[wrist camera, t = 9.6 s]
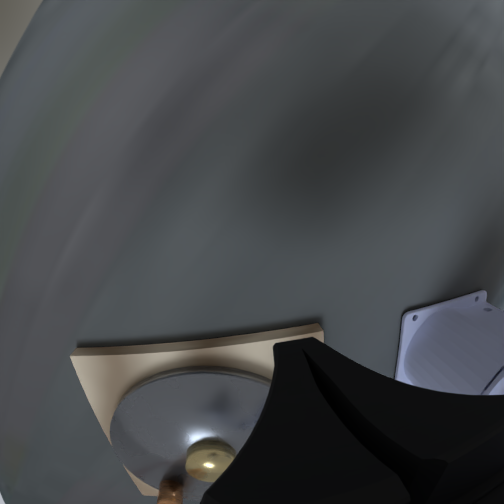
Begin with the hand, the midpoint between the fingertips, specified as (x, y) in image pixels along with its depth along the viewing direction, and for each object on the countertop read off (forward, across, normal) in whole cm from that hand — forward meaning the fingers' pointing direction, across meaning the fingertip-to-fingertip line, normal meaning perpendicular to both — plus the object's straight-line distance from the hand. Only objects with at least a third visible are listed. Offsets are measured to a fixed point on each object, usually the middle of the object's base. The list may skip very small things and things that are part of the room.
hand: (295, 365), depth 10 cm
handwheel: (+8, +5, +12) cm, 15 cm away
